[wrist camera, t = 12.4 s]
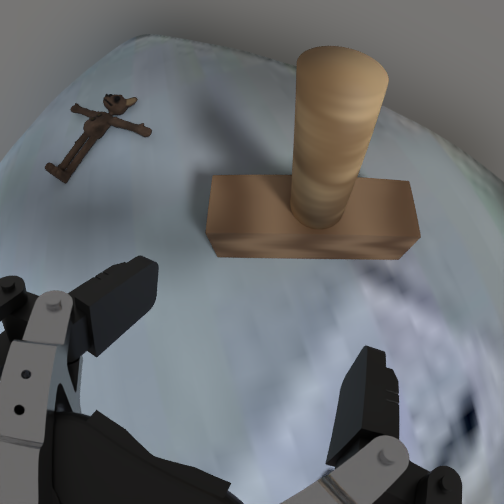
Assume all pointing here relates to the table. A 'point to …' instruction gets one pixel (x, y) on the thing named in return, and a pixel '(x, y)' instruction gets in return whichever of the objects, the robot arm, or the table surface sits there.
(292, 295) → the table surface
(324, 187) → the oak post
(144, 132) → the brown toy figure
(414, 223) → the walnut rail
